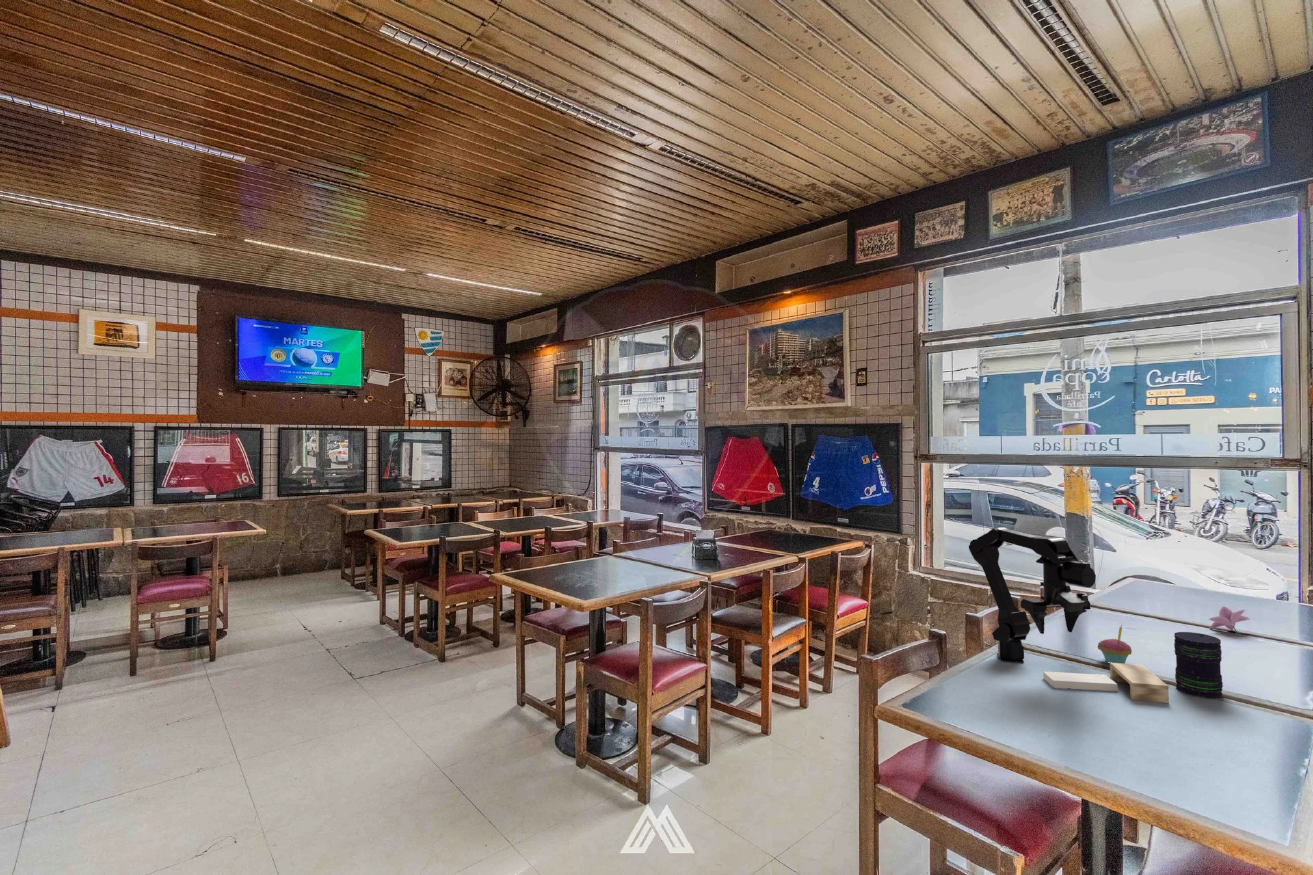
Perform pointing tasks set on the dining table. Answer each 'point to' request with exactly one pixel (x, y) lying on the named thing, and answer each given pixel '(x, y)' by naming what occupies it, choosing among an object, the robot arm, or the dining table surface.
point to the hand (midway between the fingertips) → (1055, 632)
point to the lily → (1227, 619)
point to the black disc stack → (1198, 665)
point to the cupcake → (1115, 649)
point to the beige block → (1140, 682)
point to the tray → (1080, 681)
